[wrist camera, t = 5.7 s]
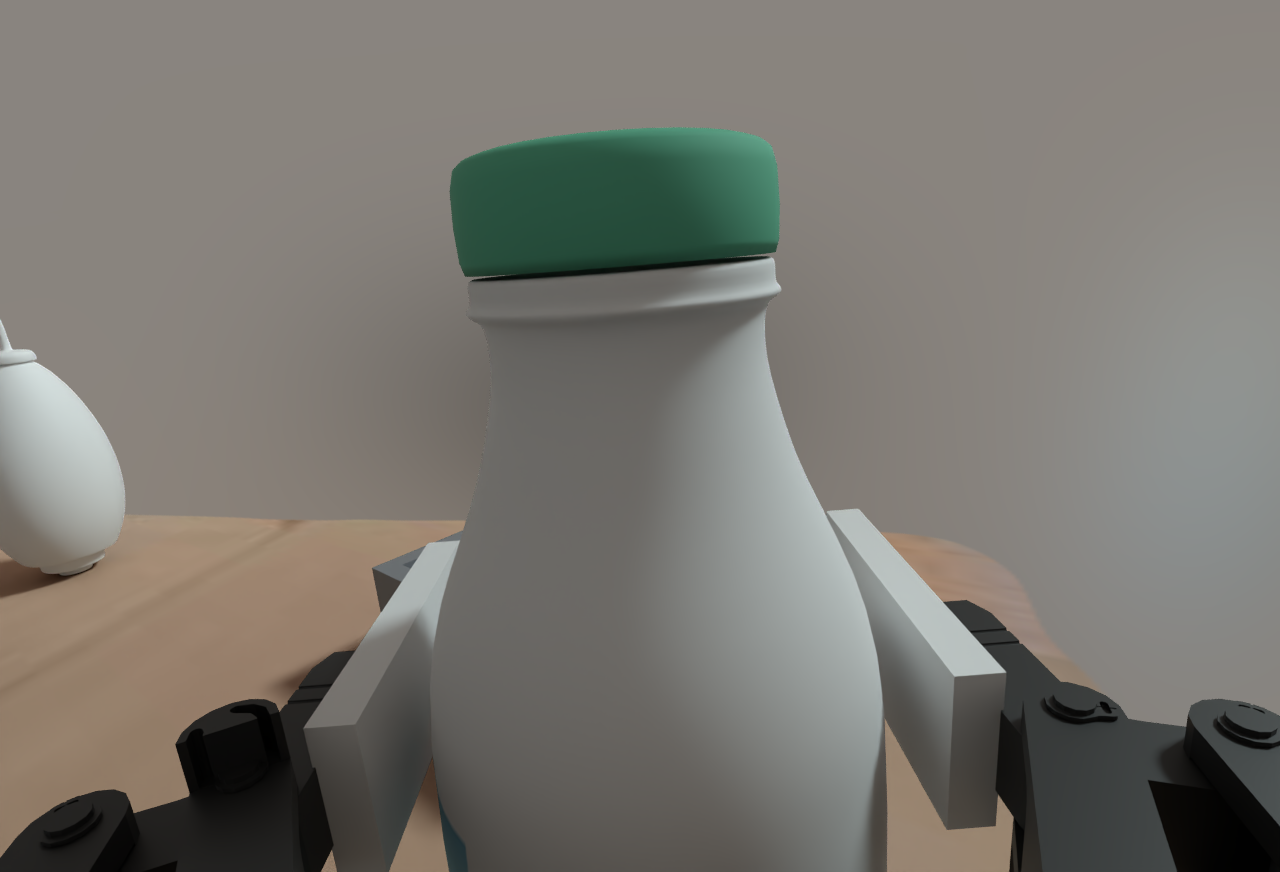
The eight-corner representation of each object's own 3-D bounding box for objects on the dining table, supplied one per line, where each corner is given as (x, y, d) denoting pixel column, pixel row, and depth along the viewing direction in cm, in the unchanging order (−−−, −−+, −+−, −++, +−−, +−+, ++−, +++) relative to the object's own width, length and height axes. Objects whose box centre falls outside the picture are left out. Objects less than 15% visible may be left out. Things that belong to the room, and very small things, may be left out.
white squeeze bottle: (165, 554, 50) (94, 302, 45) (33, 605, 43) (-65, 316, 39) (110, 540, 54) (40, 305, 49) (-18, 585, 47) (-114, 319, 42)
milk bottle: (914, 1055, 16) (948, 133, 11) (812, 1599, 10) (779, 21, 5) (633, 915, 20) (559, 188, 15) (431, 1237, 14) (181, 169, 9)
